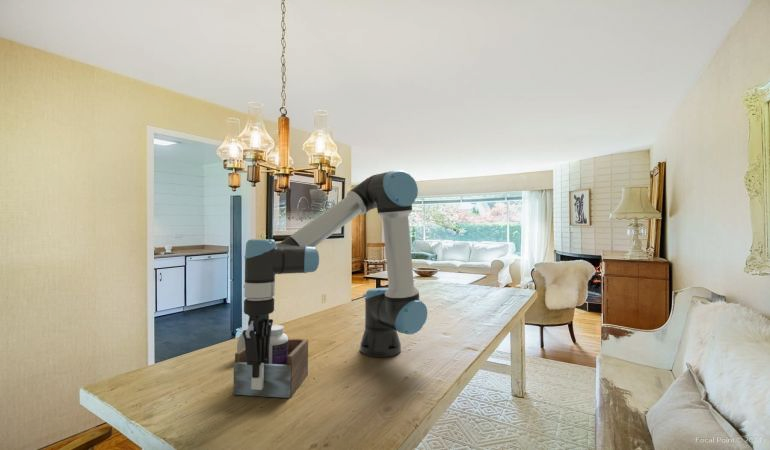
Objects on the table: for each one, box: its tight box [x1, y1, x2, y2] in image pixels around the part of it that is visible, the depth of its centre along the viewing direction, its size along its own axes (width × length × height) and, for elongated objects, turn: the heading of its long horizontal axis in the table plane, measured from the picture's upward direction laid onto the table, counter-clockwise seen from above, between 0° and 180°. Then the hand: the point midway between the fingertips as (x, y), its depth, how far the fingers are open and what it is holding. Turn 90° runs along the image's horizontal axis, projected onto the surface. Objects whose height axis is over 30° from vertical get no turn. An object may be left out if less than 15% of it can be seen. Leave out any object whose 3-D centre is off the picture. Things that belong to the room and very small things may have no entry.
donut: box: [236, 328, 248, 353], centre depth 121 cm, size 10×3×10 cm, turn 168°
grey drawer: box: [232, 361, 291, 399], centre depth 99 cm, size 16×15×8 cm
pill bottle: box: [263, 324, 289, 365], centre depth 101 cm, size 8×8×14 cm
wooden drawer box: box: [234, 337, 309, 398], centre depth 101 cm, size 16×14×11 cm
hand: (257, 388), depth 91 cm, fingers closed
